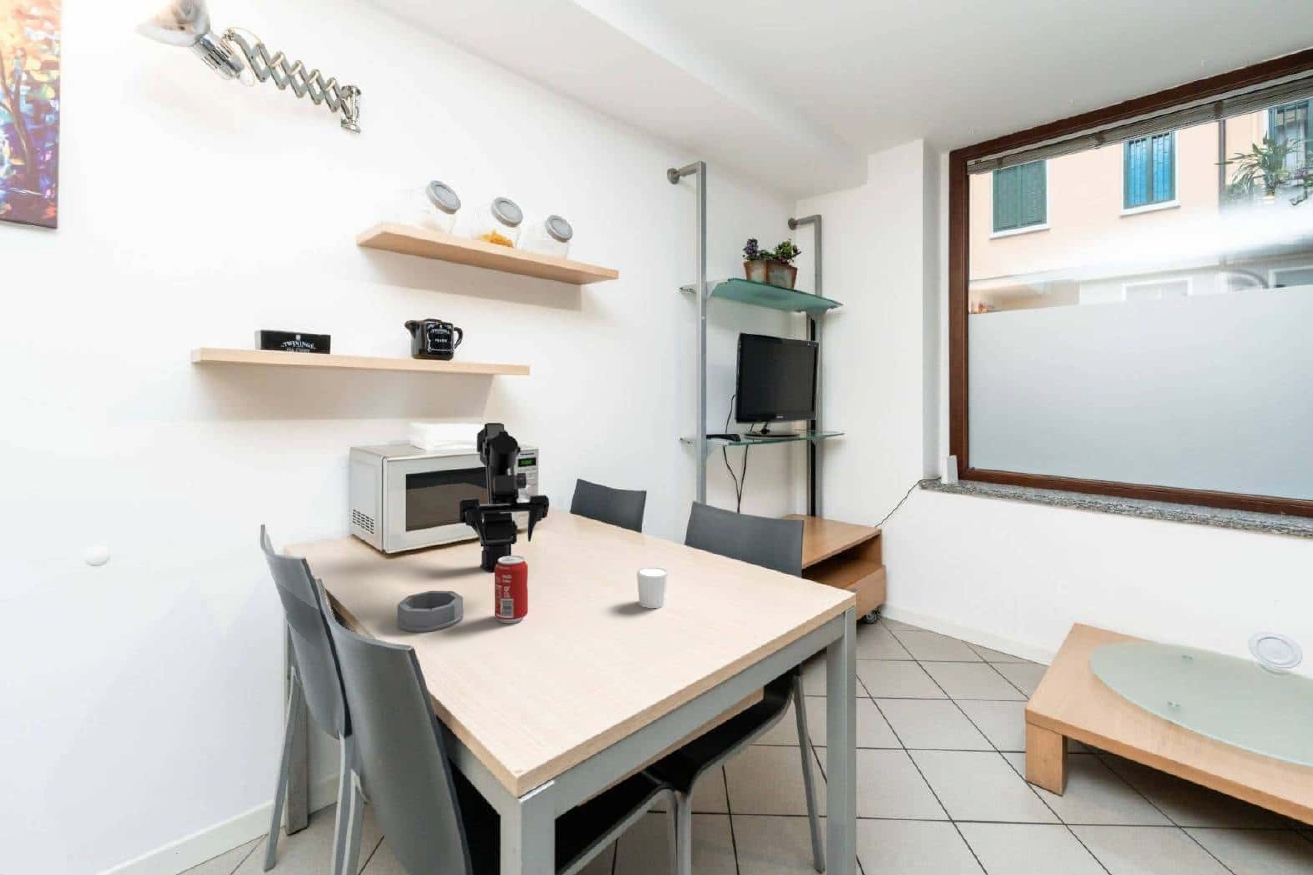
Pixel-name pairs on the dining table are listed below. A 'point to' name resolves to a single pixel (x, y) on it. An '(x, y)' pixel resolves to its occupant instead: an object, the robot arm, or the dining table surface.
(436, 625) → the cup holder
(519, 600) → the beverage can
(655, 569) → the white cup
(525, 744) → the dining table surface
